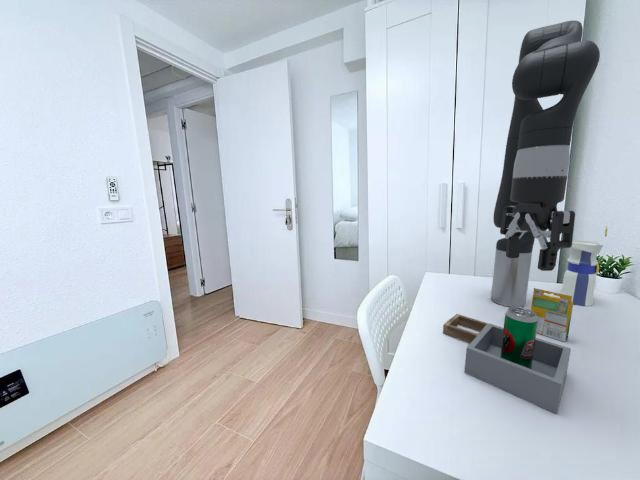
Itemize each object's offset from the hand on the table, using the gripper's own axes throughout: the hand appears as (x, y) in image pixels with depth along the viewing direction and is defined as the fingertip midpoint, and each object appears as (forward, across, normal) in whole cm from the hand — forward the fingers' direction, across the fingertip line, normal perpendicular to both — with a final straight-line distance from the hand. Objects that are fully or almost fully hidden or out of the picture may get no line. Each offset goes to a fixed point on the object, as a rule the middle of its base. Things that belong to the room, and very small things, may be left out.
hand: (527, 263), depth 50 cm
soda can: (+22, -1, +1) cm, 22 cm away
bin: (+22, -1, +1) cm, 22 cm away
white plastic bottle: (+23, +34, -42) cm, 59 cm away
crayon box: (+23, +14, -17) cm, 32 cm away
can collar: (+22, +13, +3) cm, 26 cm away
